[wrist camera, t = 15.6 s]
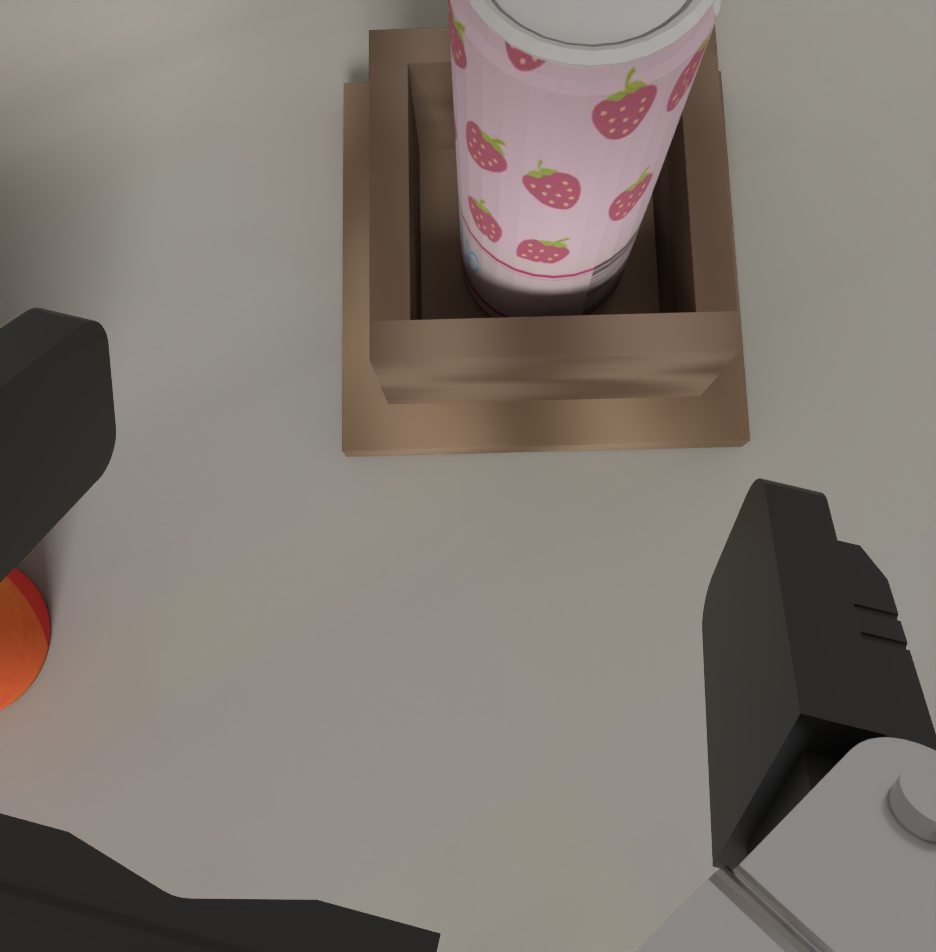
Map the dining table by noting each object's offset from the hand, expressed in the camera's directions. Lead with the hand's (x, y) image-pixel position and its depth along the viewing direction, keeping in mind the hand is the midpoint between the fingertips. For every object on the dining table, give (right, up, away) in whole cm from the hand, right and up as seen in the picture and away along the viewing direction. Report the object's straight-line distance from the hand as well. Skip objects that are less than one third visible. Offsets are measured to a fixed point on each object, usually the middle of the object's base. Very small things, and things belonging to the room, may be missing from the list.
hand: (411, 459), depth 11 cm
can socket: (+3, +8, +22) cm, 23 cm away
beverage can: (+3, +7, +21) cm, 23 cm away
